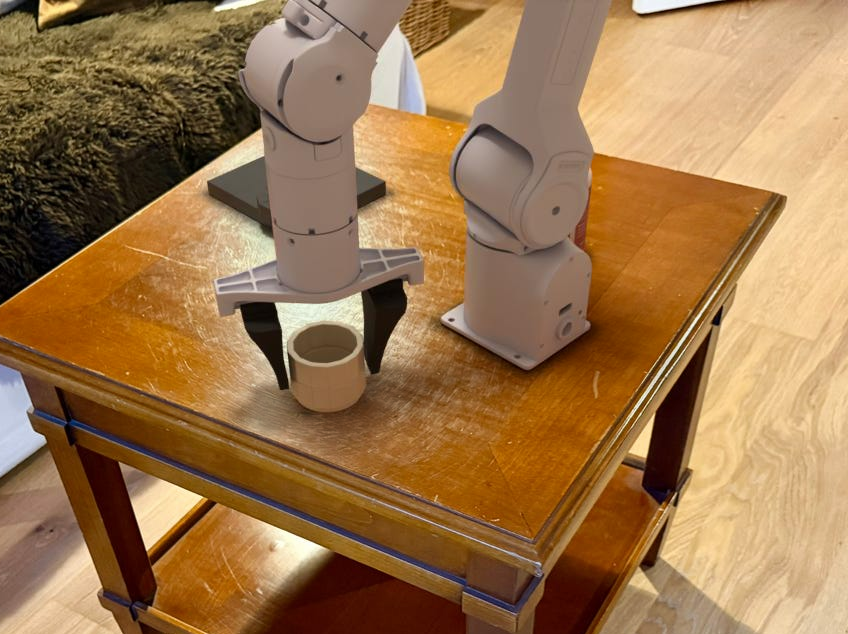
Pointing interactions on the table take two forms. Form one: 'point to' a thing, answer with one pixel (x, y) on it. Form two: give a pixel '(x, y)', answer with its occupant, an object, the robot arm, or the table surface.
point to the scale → (252, 197)
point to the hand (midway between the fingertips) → (327, 374)
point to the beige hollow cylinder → (326, 365)
